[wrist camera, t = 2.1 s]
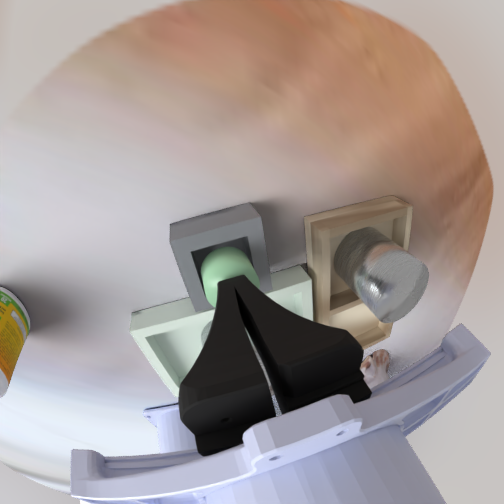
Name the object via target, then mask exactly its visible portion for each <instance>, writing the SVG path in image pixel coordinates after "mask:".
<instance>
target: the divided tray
mask: <svg viewBox="0 0 504 504" xmlns="http://www.w3.org/2000/svg"><path fill="white" fill-rule="evenodd" d="M412 211H413V206H412V205H410V204H408V203H407V202H405V201H403V200H401V199H399V198H397V197H394V196H392V195H390V196H386V197H382V198H378V199H374V200H369V201H365V202H361V203H357V204H353V205H349V206H345V207H341V208H337V209H333V210H329V211H325V212H321V213H317V214H313V215H309V216H305V217H304V226H305V238H306V252H307V267H308V276H309V277H310V278H311V279H312V304H313V321H314V322H317V323H320V324H324V325H327V326H331V327H336V328H341V329H346V330H347V331H348V332H349V333H350V334H351V335H352V336H353V337H354V338H355V339H356V340H357V341H358V342H359V344H360V345H361V346H362V348H363V350H364V349H366V348H368V347H370V346H372V345H374V344H376V343H378V342H380V341H382V340H384V339H386V338H388V337H390V333H391V329H392V326H393V322H392V323H382V322H381V321H379V320H378V318H377V317H376V316H375V315H374V314H373V313H372V312H371V311H370V309H369V308H368V307H367V306H366V305H365V304H364V303H363V302H362V301H361V299H360V298H359V297H358V296H357V295H356V294H355V293H354V292H353V291H352V290H351V289H350V288H349V286H348V285H347V284H346V283H345V282H344V281H343V280H342V279H341V278H340V277H339V276H338V275H337V273H336V271H335V269H334V256H335V252H336V250H337V248H338V246H339V244H340V243H341V241H342V240H343V239H344V237H345V236H346V235H347V234H349V233H350V232H352V231H355V230H358V229H362V228H365V227H368V226H369V227H372V228H374V229H376V230H377V231H379V232H380V233H382V234H383V235H385V236H386V237H388V238H389V239H390V240H392V241H393V242H395V243H396V244H398V245H399V246H400V247H402V248H403V249H405V250H406V251H407V252H408V246H409V239H410V231H411V222H412Z"/></svg>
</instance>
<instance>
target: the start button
mask: <svg viewBox="0 0 504 504" xmlns="http://www.w3.org/2000/svg"><path fill="white" fill-rule="evenodd" d="M201 275H202V280H203V285H204V290H205V294H206V298H207V300H208V302H209V303H210V304H211V305H212V306H213V307H216V301H217V283H218V282H219V281H222V280H225V279H229V278H232V277H236V276H239V275H245V276H246V277H247V278H248V279H249V280H250V281H251V282H252V283H253V284H254V285H255V286H256V287H257V288H258V289H260V281H259V278H258V276H257V274H256V272H255V270H254V268H253V266H252V264H251V262H250V261H249V259H248V257H247V255H246V254H245V253H244V252H243V251H241V250H240V249H238V248H235V247H221V248H218V249H216V250H214V251H212V252H211V253H209V254H208V255H207V256H206V258H205V259H204V261H203V263H202V266H201Z"/></svg>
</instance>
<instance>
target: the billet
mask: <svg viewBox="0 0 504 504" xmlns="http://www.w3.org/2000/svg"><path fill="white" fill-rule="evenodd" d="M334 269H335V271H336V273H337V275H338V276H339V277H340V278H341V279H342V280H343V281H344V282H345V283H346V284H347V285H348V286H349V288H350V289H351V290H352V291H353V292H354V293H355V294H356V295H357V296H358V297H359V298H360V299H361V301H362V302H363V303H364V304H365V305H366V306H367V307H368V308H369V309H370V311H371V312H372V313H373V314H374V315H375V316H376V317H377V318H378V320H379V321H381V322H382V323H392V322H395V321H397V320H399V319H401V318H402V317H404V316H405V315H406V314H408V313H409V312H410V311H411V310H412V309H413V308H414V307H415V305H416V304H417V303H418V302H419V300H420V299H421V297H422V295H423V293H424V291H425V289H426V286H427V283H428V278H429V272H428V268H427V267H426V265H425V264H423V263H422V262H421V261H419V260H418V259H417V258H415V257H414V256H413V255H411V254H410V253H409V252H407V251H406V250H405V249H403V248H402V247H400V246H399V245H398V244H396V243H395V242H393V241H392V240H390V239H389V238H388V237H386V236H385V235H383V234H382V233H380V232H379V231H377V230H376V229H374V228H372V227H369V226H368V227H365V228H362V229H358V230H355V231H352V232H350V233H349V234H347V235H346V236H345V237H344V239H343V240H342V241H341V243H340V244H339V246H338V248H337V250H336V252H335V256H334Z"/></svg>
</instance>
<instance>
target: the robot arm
mask: <svg viewBox="0 0 504 504" xmlns="http://www.w3.org/2000/svg"><path fill="white" fill-rule="evenodd" d="M245 328H246V329H245ZM246 330H247V332H248V334H249V336H250V338H251V340H252V342H253V344H254V346H255V348H256V350H257V352H258V354H259V356H260V358H261V360H262V363H263V365H264V367H265V370H266V373H267V375H268V378H269V381H270V383H271V386H272V389H273V391H274V394H275V397H276V399H277V402H278V405H279V407H280V410H281V413H282V415H280V416H277V417H276V413H275V409H274V405H273V401H272V397H271V393H270V389H269V385H268V381H267V379H266V376H265V374H264V371H263V369H262V367H261V365H260V363H259V360H258V358H257V356H256V354H255V351H254V349H253V347H252V344H251V342H250V339H249V337H248V334H247V332H246ZM363 353H364V350H363V348H362V346H361V345H360V344H359V342H358V341H357V340H356V339H355V338H354V337H353V336H352V335H351V334H350V333H349V332H348V331H347V330H346V329H341V328H336V327H331V326H327V325H324V324H320V323H317V322H314V321H311V320H309V319H306V318H304V317H301V316H299V315H297V314H295V313H293V312H291V311H289V310H288V309H286V308H284V307H283V306H281V305H279V304H278V303H276V302H275V301H273V300H272V299H271V298H269V297H268V296H267V295H265V294H264V293H263V292H262V291H261V290H259V289H258V288H257V287H256V286H255V285H254V284H253V283H252V282H251V281H250V280H249V279H248V278H247V277H246V276H245V275H239V276H236V277H232V278H229V279H225V280H222V281H219V282H218V283H217V301H216V307H215V312H214V317H213V321H212V324H211V328H210V331H209V333H208V336H207V339H206V341H205V343H204V346H203V348H202V350H201V352H200V354H199V356H198V358H197V359H196V361H195V363H194V365H193V366H192V368H191V369H190V371H189V372H188V374H187V375H186V376H185V378H184V379H183V381H182V382H181V383H180V388H179V401H178V405H172V406H167V407H161V408H156V409H149V410H144V411H143V416H144V417H146V418H147V419H148V420H149V421H150V422H151V423H152V424H153V425H154V426H155V427H156V428H157V431H158V442H159V451H160V454H151V455H139V456H119V457H104V456H103V455H101V454H100V453H98V452H96V451H93V450H78V449H73V450H71V496H72V497H74V498H77V499H80V500H82V501H85V502H88V503H91V504H446V502H445V501H444V499H443V497H442V496H441V494H440V492H439V490H438V489H437V487H436V486H435V484H434V483H433V481H432V479H431V478H430V476H429V475H428V473H427V471H426V470H425V468H424V466H423V465H422V463H421V461H420V460H419V458H418V457H417V455H416V453H415V452H414V450H413V449H412V447H411V446H410V444H409V443H408V441H407V439H406V438H405V437H406V436H407V435H408V434H410V433H411V432H413V431H414V430H415V429H417V428H418V427H419V426H421V425H422V424H423V423H425V422H426V421H427V420H428V419H429V418H431V417H432V416H433V415H434V414H436V413H437V412H438V411H439V410H441V409H442V408H443V407H444V406H445V405H446V404H448V403H449V402H450V401H451V400H452V399H453V398H455V397H456V396H457V395H458V394H459V393H460V392H461V391H463V390H464V389H465V388H466V387H467V386H468V385H469V384H470V383H471V382H472V381H473V379H474V378H475V377H476V375H477V374H478V372H479V371H480V370H481V368H482V367H483V365H484V364H485V362H486V361H487V359H488V358H489V356H490V355H491V353H490V352H489V350H487V348H486V347H485V346H484V345H483V344H482V343H481V342H480V341H479V340H478V339H477V338H476V337H475V336H474V335H473V334H472V333H471V332H470V331H469V330H468V329H467V328H466V327H465V326H464V325H463V324H462V323H461V324H459V325H458V326H456V327H455V328H454V329H453V330H451V331H450V332H448V333H447V334H446V336H445V337H444V338H443V340H442V343H441V346H440V347H438V348H437V349H435V350H434V351H433V352H431V353H430V354H428V355H427V356H425V357H424V358H422V359H421V360H419V361H418V362H416V363H414V364H413V365H411V366H410V367H408V368H406V369H405V370H403V371H401V372H400V373H398V374H396V375H395V376H393V377H391V378H389V379H388V380H386V381H384V382H382V383H380V384H379V385H377V386H375V387H373V388H371V389H370V388H369V387H368V385H367V384H366V382H365V381H364V374H363V373H362V371H361V370H360V368H361V363H362V359H363Z"/></svg>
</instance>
